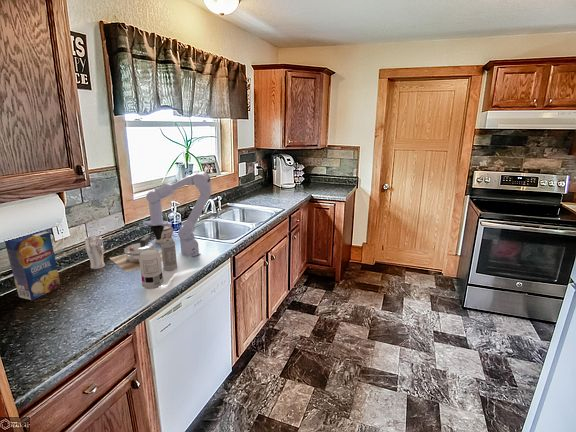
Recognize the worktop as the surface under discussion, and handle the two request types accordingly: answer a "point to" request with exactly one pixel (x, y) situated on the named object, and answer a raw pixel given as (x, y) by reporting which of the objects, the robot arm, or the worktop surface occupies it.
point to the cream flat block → (132, 259)
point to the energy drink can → (169, 254)
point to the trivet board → (124, 264)
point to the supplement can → (150, 268)
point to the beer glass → (95, 251)
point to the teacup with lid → (165, 233)
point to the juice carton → (33, 264)
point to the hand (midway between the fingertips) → (158, 239)
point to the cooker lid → (139, 246)
